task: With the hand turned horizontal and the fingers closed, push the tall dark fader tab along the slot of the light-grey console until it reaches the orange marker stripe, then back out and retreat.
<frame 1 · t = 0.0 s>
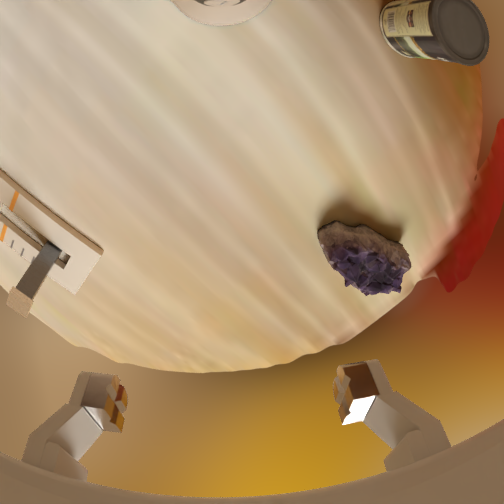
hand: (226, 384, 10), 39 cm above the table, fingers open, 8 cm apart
geode: (357, 248, 56), on the table
coffee can: (406, 28, 32), on the table
console: (36, 233, 48), on the table
fader tab: (36, 273, 44), point 8 cm above the table, slide at -5.0 cm
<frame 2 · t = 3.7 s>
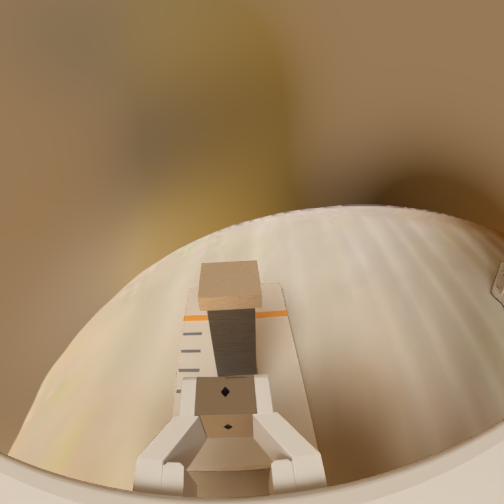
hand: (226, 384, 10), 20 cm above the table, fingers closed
console: (238, 364, 35), on the table
fader tab: (235, 350, 27), point 8 cm above the table, slide at -5.0 cm
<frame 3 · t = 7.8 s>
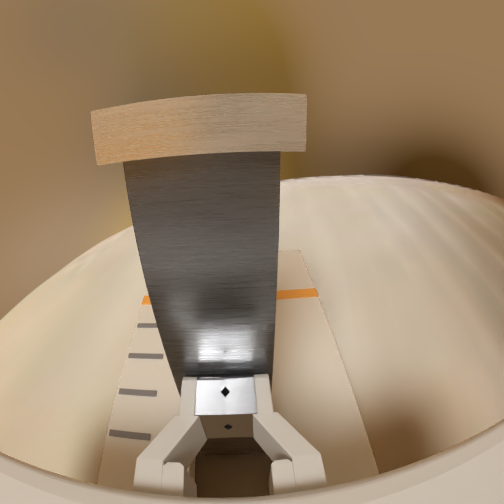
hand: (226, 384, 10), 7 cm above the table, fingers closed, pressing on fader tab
console: (232, 382, 18), on the table
fader tab: (221, 330, 11), point 8 cm above the table, slide at -3.6 cm, touching gripper
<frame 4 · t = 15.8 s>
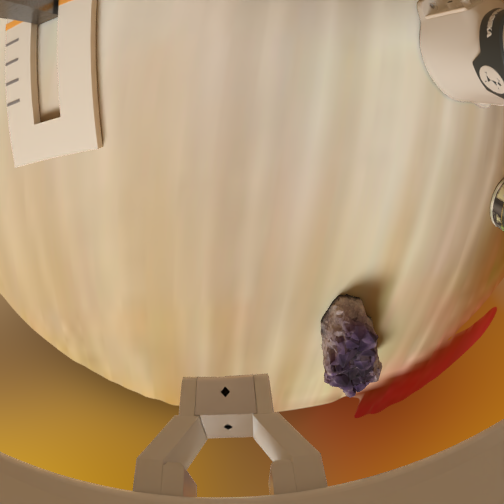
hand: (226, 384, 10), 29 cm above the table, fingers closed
geode: (343, 335, 51), on the table
console: (49, 55, 25), on the table
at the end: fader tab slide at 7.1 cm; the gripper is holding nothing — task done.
